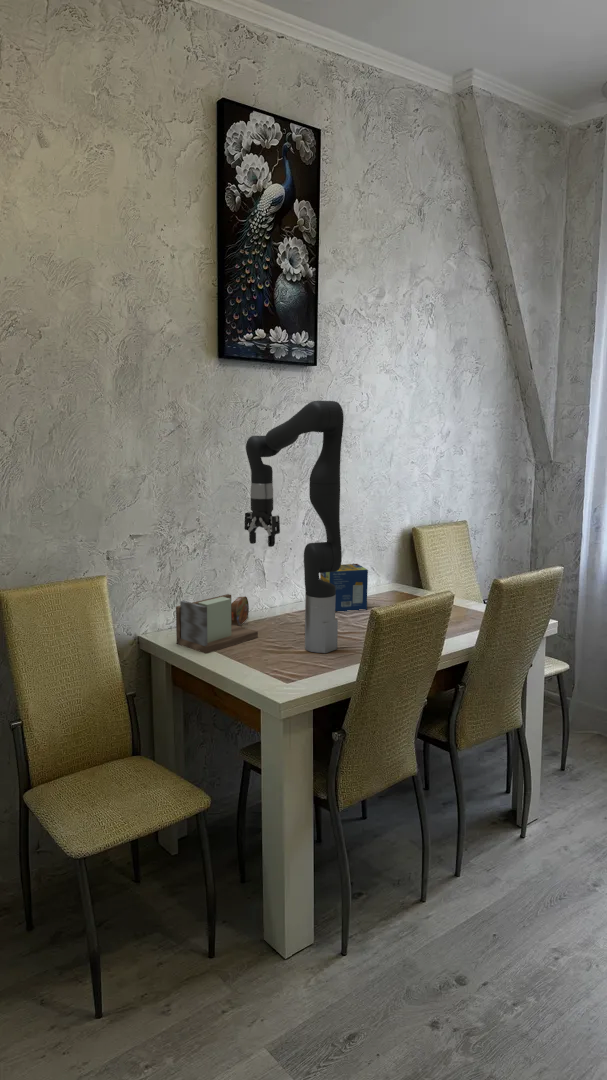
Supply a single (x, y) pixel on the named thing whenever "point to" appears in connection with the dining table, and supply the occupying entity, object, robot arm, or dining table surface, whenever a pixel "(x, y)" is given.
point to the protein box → (349, 586)
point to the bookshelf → (205, 628)
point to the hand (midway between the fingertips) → (261, 544)
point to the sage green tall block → (218, 618)
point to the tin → (239, 610)
